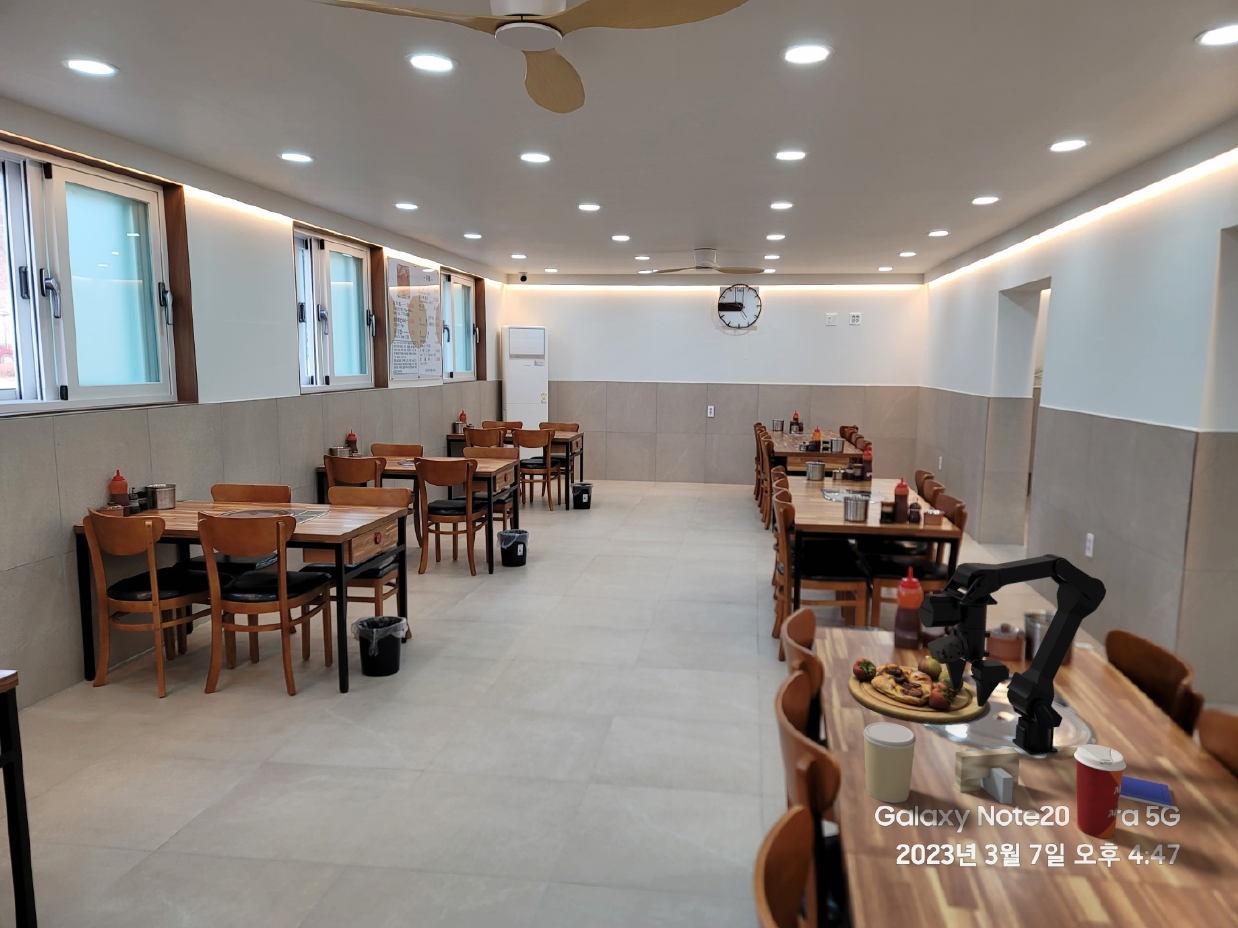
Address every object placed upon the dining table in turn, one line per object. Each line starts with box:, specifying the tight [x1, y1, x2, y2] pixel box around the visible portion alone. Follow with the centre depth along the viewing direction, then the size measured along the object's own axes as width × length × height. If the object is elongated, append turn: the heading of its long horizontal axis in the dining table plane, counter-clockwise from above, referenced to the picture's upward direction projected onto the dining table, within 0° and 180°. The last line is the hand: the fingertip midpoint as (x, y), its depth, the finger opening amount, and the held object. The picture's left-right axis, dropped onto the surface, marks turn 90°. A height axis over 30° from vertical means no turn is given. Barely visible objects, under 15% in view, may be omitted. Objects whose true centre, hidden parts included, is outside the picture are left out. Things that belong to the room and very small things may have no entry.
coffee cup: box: [863, 721, 917, 804], centre depth 150 cm, size 9×9×12 cm
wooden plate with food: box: [847, 655, 987, 725], centre depth 196 cm, size 32×32×8 cm
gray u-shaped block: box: [965, 747, 1014, 805], centre depth 152 cm, size 2×12×5 cm, turn 8°
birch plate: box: [953, 747, 1021, 793], centre depth 152 cm, size 12×2×7 cm, turn 98°
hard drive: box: [1120, 775, 1173, 809], centre depth 152 cm, size 2×8×12 cm
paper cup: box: [1073, 743, 1127, 839], centre depth 138 cm, size 8×8×14 cm
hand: (967, 697), depth 166 cm, fingers open, 9 cm apart
